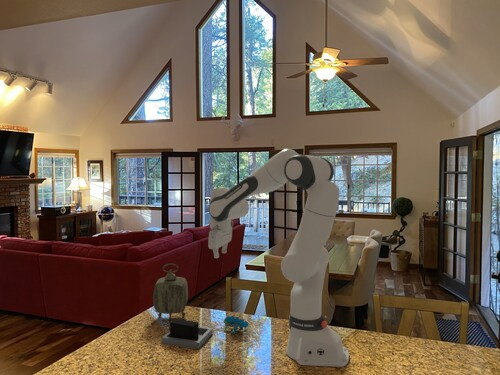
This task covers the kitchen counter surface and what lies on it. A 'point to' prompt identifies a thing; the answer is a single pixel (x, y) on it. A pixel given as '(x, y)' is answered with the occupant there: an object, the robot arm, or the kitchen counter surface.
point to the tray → (203, 337)
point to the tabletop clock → (170, 294)
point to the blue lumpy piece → (235, 323)
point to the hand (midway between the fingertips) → (220, 255)
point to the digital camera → (184, 329)
